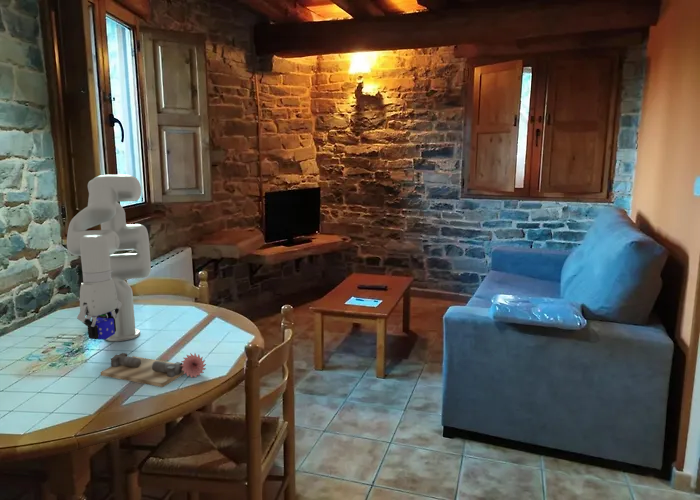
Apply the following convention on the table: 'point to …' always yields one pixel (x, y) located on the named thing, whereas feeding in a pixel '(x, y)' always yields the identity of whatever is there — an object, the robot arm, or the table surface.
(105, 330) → the die
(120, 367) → the shaft bed
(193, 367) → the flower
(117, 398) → the table surface
